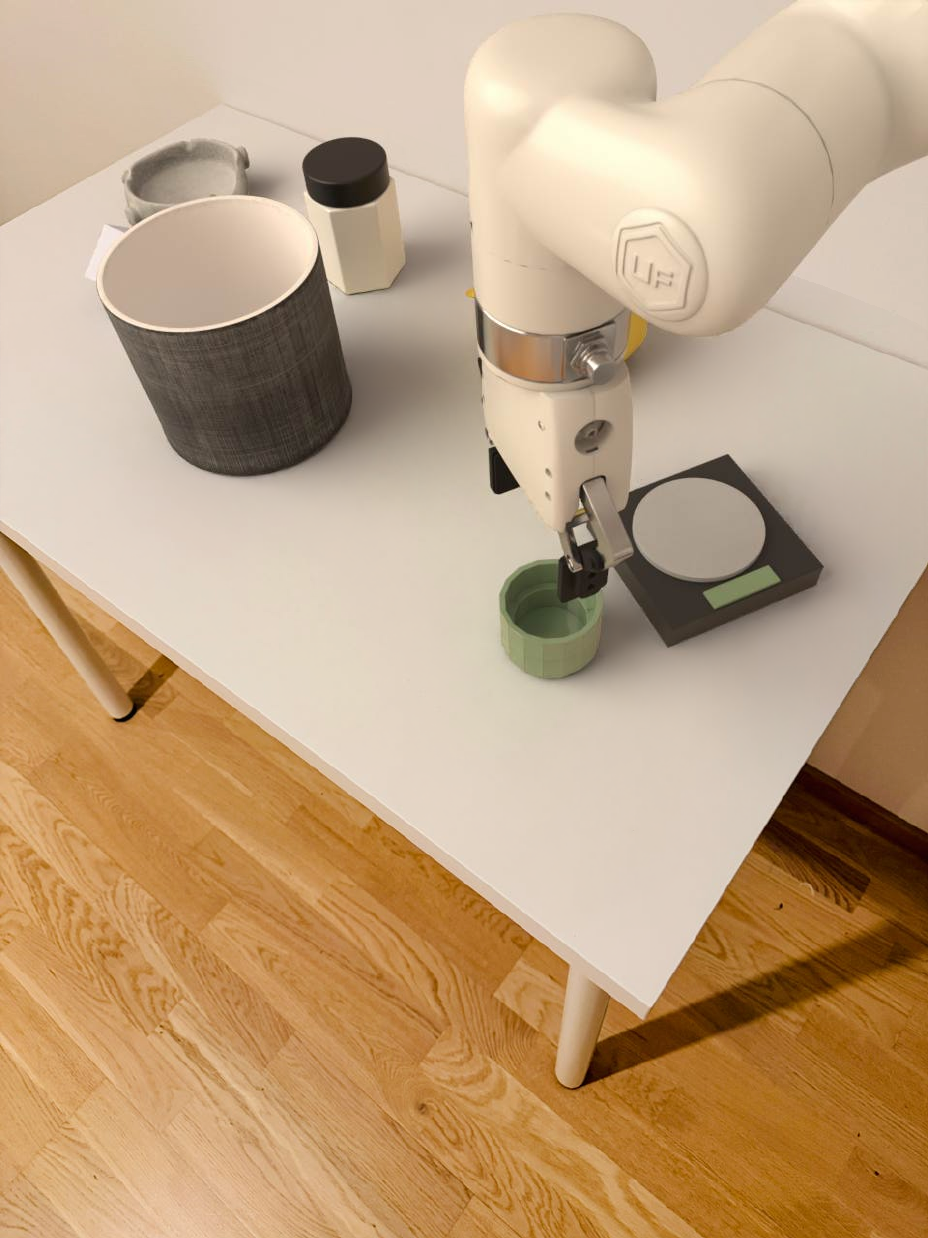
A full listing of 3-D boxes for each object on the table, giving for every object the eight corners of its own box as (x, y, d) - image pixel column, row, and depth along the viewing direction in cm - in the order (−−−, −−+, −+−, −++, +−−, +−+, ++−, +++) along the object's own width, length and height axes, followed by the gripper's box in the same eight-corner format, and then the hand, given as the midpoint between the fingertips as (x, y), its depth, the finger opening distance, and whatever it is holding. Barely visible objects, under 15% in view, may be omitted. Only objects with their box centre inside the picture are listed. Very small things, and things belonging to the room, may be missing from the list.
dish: (258, 172, 108) (247, 130, 103) (249, 242, 100) (236, 199, 96) (138, 184, 108) (122, 143, 104) (120, 254, 100) (102, 212, 96)
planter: (386, 424, 82) (357, 273, 69) (205, 507, 78) (138, 364, 65) (304, 321, 91) (265, 170, 78) (139, 391, 87) (68, 244, 74)
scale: (816, 585, 69) (826, 561, 67) (667, 647, 67) (672, 625, 65) (723, 473, 76) (729, 448, 74) (585, 526, 74) (587, 502, 72)
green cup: (616, 658, 67) (621, 619, 63) (527, 695, 66) (526, 658, 61) (571, 586, 71) (573, 545, 67) (486, 620, 70) (482, 580, 65)
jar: (401, 240, 98) (385, 129, 88) (410, 286, 93) (395, 174, 83) (319, 253, 98) (294, 143, 88) (325, 299, 93) (299, 189, 83)
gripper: (716, 403, 40) (666, 616, 54) (542, 203, 49) (539, 430, 63) (565, 459, 39) (554, 662, 53) (415, 243, 48) (440, 466, 62)
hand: (546, 536), depth 58 cm, fingers open, 9 cm apart
